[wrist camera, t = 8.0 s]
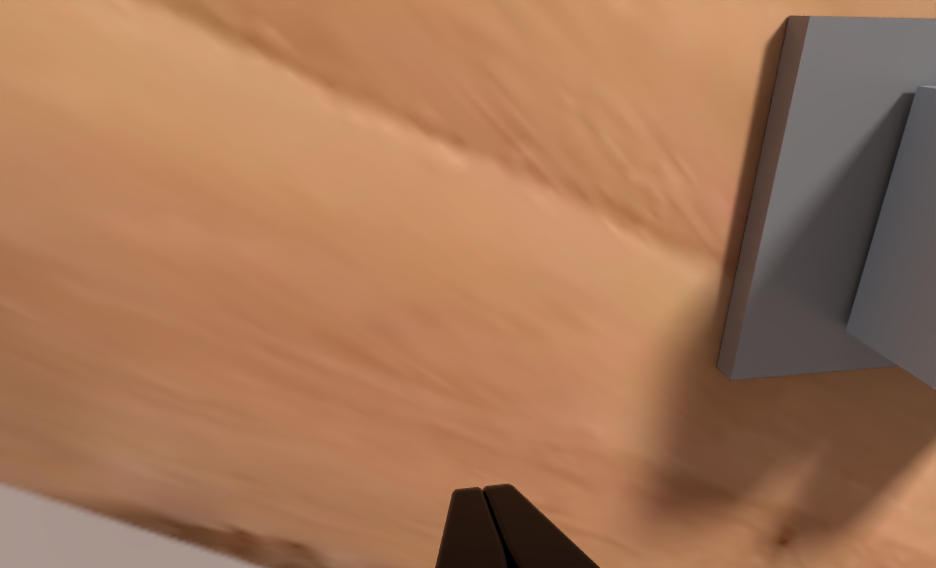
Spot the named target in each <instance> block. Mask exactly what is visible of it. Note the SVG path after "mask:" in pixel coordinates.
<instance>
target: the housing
mask: <svg viewBox="0 0 936 568" xmlns="http://www.w3.org/2000/svg"><path fill="white" fill-rule="evenodd" d="M917 86H936V19H926V18H879V17H831V16H789V19H788V24H787V29H786V34H785V39H784V44H783V49H782V53H781V58H780V63H779V68H778V73H777V78H776V82H775V87H774V92H773V97H772V102H771V107H770V112H769V116H768V121H767V126H766V131H765V136H764V141H763V145H762V150H761V155H760V160H759V165H758V170H757V174H756V179H755V184H754V189H753V194H752V199H751V204H750V208H749V213H748V218H747V223H746V228H745V233H744V237H743V242H742V247H741V252H740V257H739V262H738V267H737V271H736V276H735V281H734V286H733V291H732V296H731V300H730V305H729V310H728V315H727V320H726V325H725V330H724V334H723V339H722V344H721V349H720V354H719V359H718V363H717V368H718V369H719V370H720V371H721V372H722V373H723V374H724V375H725V376H726V377H727V378H728V379H729V380H730V381H732V380H744V379H755V378H767V377H778V376H789V375H801V374H812V373H824V372H835V371H846V370H858V369H869V368H881V367H892V366H898V365H896V364H895V363H893V362H892V361H890V360H889V359H887V358H886V357H884V356H882V355H881V354H879V353H878V352H876V351H875V350H873V349H872V348H870V347H869V346H867V345H866V344H864V343H863V342H861V341H860V340H858V339H857V338H855V337H854V336H852V335H850V334H849V333H847V332H846V328H847V325H848V321H849V318H850V314H851V311H852V307H853V304H854V301H855V297H856V294H857V290H858V287H859V284H860V280H861V277H862V273H863V270H864V267H865V263H866V260H867V256H868V253H869V249H870V246H871V243H872V239H873V236H874V232H875V229H876V226H877V222H878V219H879V215H880V212H881V208H882V205H883V202H884V198H885V195H886V191H887V188H888V185H889V181H890V178H891V174H892V171H893V168H894V164H895V161H896V157H897V154H898V150H899V147H900V144H901V140H902V137H903V133H904V130H905V127H906V123H907V120H908V116H909V113H910V110H911V106H912V103H913V99H914V96H915V92H916V89H917Z"/></svg>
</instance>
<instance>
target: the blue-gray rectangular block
mask: <svg viewBox="0 0 936 568" xmlns="http://www.w3.org/2000/svg"><path fill="white" fill-rule="evenodd" d="M846 332H847V333H849V334H850V335H852V336H854V337H855V338H857V339H858V340H860V341H861V342H863V343H864V344H866V345H867V346H869V347H870V348H872V349H873V350H875V351H876V352H878V353H879V354H881V355H882V356H884V357H886V358H887V359H889V360H890V361H892V362H893V363H895V364H896V365H898V366H899V367H901V368H902V369H904V370H905V371H907V372H908V373H910V374H911V375H913V376H915V377H916V378H918V379H919V380H921V381H922V382H924V383H925V384H927V385H928V386H930V387H931V388H933V389H934V390H936V86H917V89H916V92H915V96H914V99H913V103H912V106H911V110H910V113H909V116H908V120H907V123H906V127H905V130H904V133H903V137H902V140H901V144H900V147H899V150H898V154H897V157H896V161H895V164H894V168H893V171H892V174H891V178H890V181H889V185H888V188H887V191H886V195H885V198H884V202H883V205H882V208H881V212H880V215H879V219H878V222H877V226H876V229H875V232H874V236H873V239H872V243H871V246H870V249H869V253H868V256H867V260H866V263H865V267H864V270H863V273H862V277H861V280H860V284H859V287H858V290H857V294H856V297H855V301H854V304H853V307H852V311H851V314H850V318H849V321H848V325H847V328H846Z"/></svg>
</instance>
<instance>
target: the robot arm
mask: <svg viewBox="0 0 936 568" xmlns="http://www.w3.org/2000/svg"><path fill="white" fill-rule="evenodd" d="M435 568H600V567H599V566H598V565H597V564H596V563H594V562H593V561H592V560H591V559H590V558H589V557H588V556H587V555H586V554H585V553H584V552H583V551H582V550H581V549H580V548H579V547H577V546H576V545H575V544H574V543H573V542H572V541H571V540H570V539H569V538H568V537H567V536H566V535H565V534H564V533H563V532H562V531H561V530H559V529H558V528H557V527H556V526H555V525H554V524H553V523H552V522H551V521H550V520H549V519H548V518H547V517H546V516H545V515H544V514H542V513H541V512H540V511H539V510H538V509H537V508H536V507H535V506H534V505H533V504H532V503H531V502H530V501H529V500H528V499H527V498H525V497H524V496H523V495H522V494H521V493H520V492H519V491H518V490H517V489H516V488H515V487H514V486H512V485H510V484H500V485H491V486H486V487H484V488H483V490H482V489H481V488H479V487H472V488H463V489H456V490H454V492H453V493H452V497H451V501H450V505H449V510H448V514H447V519H446V523H445V527H444V532H443V536H442V540H441V545H440V549H439V553H438V558H437V562H436V566H435Z"/></svg>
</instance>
